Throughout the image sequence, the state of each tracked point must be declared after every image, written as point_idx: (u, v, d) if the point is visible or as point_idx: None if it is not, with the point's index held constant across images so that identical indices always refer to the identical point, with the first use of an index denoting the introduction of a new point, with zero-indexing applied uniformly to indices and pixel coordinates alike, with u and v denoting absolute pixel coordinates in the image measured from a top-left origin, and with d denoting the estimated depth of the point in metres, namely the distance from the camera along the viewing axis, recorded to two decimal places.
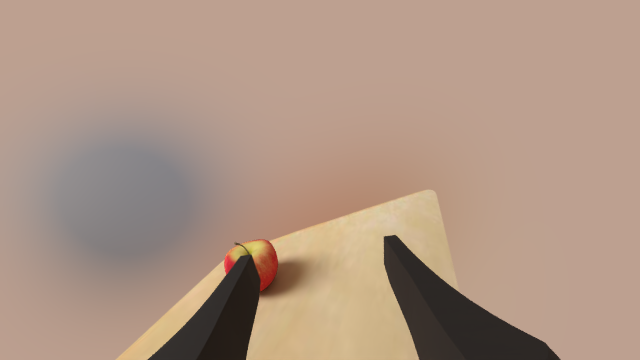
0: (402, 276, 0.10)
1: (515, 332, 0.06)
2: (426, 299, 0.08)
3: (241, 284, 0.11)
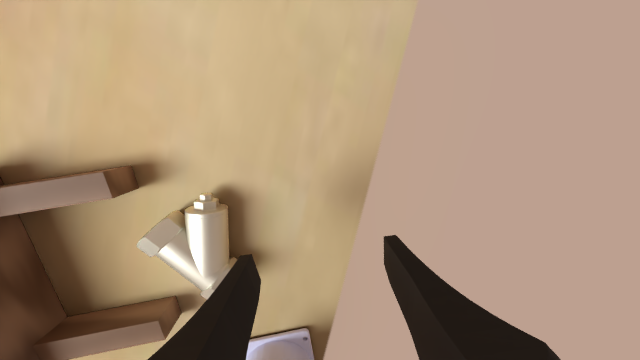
0: (402, 276, 0.10)
1: (515, 332, 0.06)
2: (426, 299, 0.08)
3: (241, 284, 0.11)
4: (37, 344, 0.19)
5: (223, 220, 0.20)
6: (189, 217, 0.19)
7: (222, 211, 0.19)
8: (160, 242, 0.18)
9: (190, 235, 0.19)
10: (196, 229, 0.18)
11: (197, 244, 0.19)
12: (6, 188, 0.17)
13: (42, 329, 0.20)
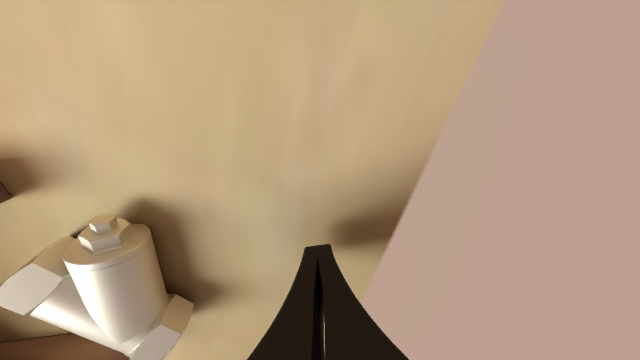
0: None
1: (387, 348, 0.06)
2: (326, 312, 0.08)
3: (317, 274, 0.11)
4: None
5: (137, 264, 0.11)
6: (68, 265, 0.10)
7: (131, 252, 0.11)
8: (23, 305, 0.11)
9: (79, 290, 0.11)
10: (84, 285, 0.11)
11: (94, 305, 0.11)
12: None
13: None
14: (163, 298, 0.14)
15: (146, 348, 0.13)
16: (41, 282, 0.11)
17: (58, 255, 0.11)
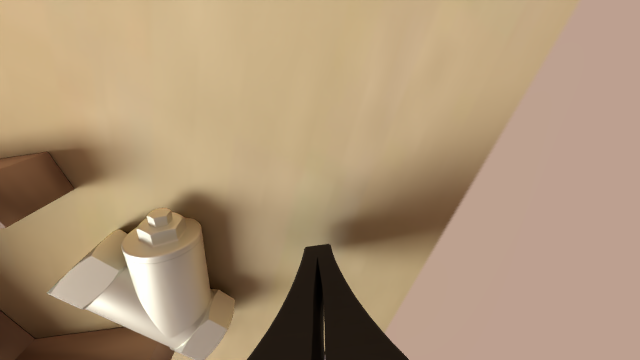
0: None
1: (387, 348, 0.06)
2: (326, 312, 0.08)
3: (317, 274, 0.11)
4: None
5: (192, 257, 0.11)
6: (128, 257, 0.10)
7: (188, 245, 0.11)
8: (82, 298, 0.10)
9: (136, 283, 0.11)
10: (143, 278, 0.11)
11: (150, 299, 0.11)
12: None
13: None
14: (209, 293, 0.14)
15: (195, 342, 0.13)
16: (99, 275, 0.11)
17: (112, 248, 0.11)
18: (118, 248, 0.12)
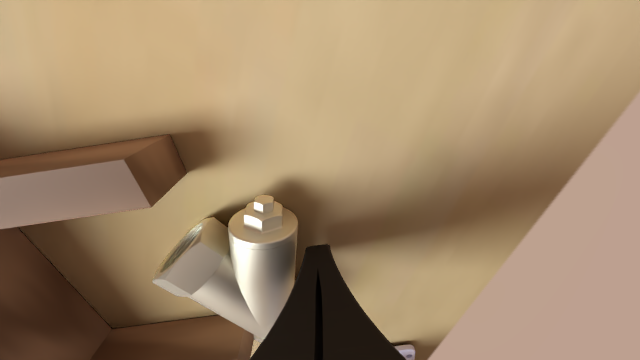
0: None
1: (385, 348, 0.06)
2: (324, 312, 0.08)
3: (319, 274, 0.11)
4: None
5: (293, 245, 0.11)
6: (239, 243, 0.10)
7: (293, 232, 0.11)
8: (192, 285, 0.10)
9: (240, 270, 0.11)
10: (252, 265, 0.10)
11: (254, 286, 0.11)
12: None
13: (83, 355, 0.15)
14: None
15: None
16: (207, 261, 0.11)
17: (213, 235, 0.11)
18: (217, 235, 0.11)
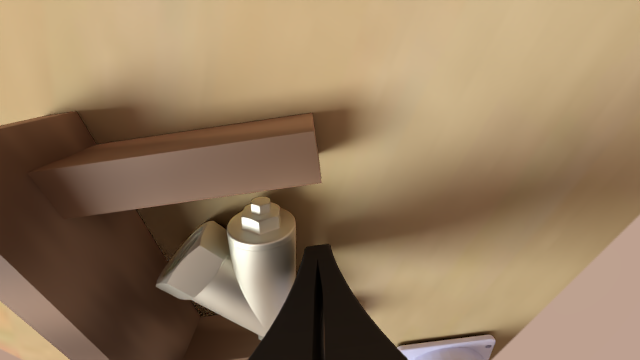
0: None
1: (387, 348, 0.06)
2: (325, 312, 0.08)
3: (317, 274, 0.11)
4: None
5: (292, 245, 0.11)
6: (238, 245, 0.10)
7: (291, 232, 0.11)
8: (193, 288, 0.11)
9: (241, 272, 0.11)
10: (251, 266, 0.11)
11: (255, 287, 0.11)
12: (127, 160, 0.08)
13: (184, 342, 0.15)
14: None
15: None
16: (207, 264, 0.11)
17: (213, 238, 0.11)
18: (217, 238, 0.12)
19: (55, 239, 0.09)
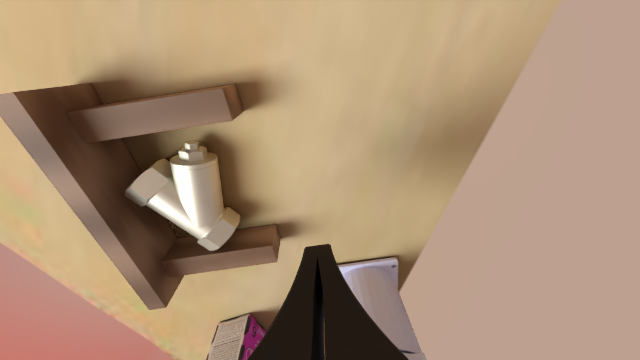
0: None
1: (387, 348, 0.06)
2: (326, 312, 0.08)
3: (317, 274, 0.11)
4: (164, 260, 0.21)
5: (212, 171, 0.18)
6: (174, 167, 0.17)
7: (210, 162, 0.18)
8: (147, 193, 0.17)
9: (178, 186, 0.18)
10: (183, 181, 0.17)
11: (187, 196, 0.18)
12: (120, 106, 0.15)
13: (163, 248, 0.21)
14: (222, 205, 0.20)
15: (215, 233, 0.19)
16: (156, 180, 0.17)
17: (162, 167, 0.18)
18: (165, 168, 0.18)
19: (81, 153, 0.15)
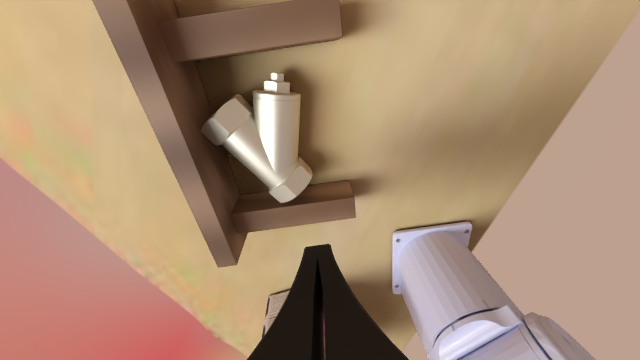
0: None
1: (387, 348, 0.06)
2: (326, 312, 0.08)
3: (317, 274, 0.11)
4: (234, 213, 0.19)
5: (298, 108, 0.16)
6: (261, 98, 0.15)
7: (298, 96, 0.16)
8: (229, 126, 0.15)
9: (262, 122, 0.16)
10: (270, 114, 0.15)
11: (271, 133, 0.16)
12: (220, 13, 0.13)
13: (231, 201, 0.19)
14: None
15: (292, 180, 0.18)
16: (239, 113, 0.15)
17: (242, 101, 0.16)
18: (244, 103, 0.16)
19: (170, 71, 0.13)
